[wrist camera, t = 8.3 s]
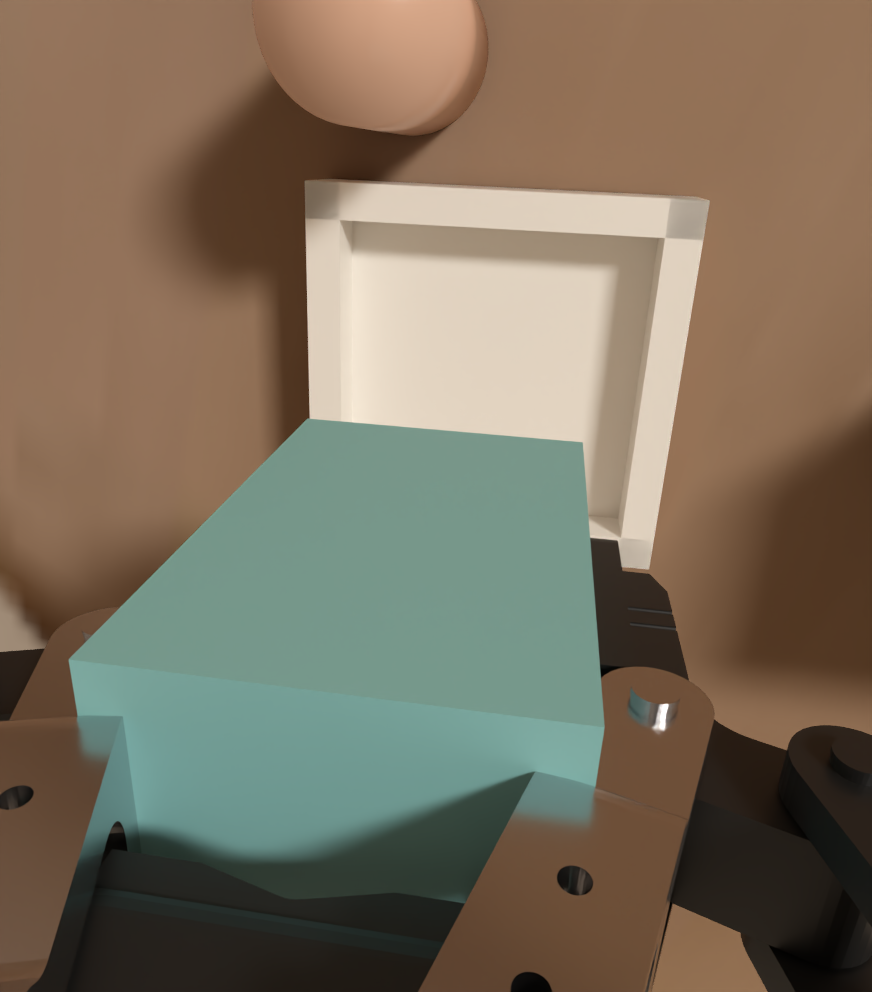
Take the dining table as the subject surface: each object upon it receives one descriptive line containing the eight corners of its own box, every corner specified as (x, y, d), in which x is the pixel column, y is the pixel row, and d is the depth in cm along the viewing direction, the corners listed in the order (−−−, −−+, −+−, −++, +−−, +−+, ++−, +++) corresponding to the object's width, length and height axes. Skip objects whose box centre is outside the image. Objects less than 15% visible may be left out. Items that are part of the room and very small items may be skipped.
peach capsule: (336, -40, 22) (246, -120, 16) (493, -38, 22) (465, -120, 15) (338, 132, 24) (257, 123, 18) (483, 138, 24) (454, 131, 17)
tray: (328, 178, 25) (304, 180, 22) (695, 196, 23) (709, 200, 21) (332, 505, 29) (312, 535, 27) (641, 535, 28) (649, 569, 25)
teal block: (307, 418, 13) (67, 659, 7) (582, 442, 13) (605, 727, 6) (312, 648, 15) (125, 1012, 9) (553, 678, 14) (548, 1087, 8)
